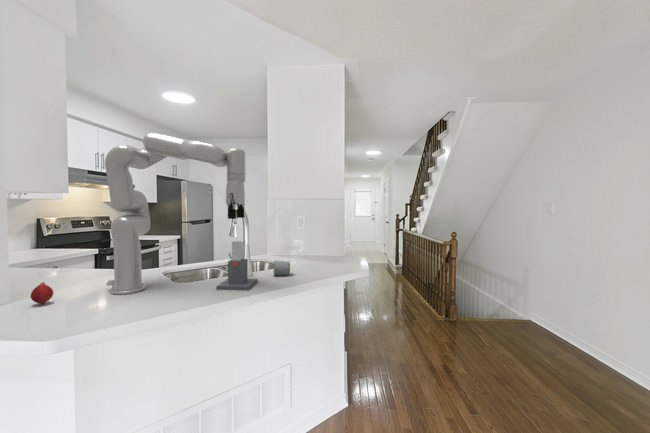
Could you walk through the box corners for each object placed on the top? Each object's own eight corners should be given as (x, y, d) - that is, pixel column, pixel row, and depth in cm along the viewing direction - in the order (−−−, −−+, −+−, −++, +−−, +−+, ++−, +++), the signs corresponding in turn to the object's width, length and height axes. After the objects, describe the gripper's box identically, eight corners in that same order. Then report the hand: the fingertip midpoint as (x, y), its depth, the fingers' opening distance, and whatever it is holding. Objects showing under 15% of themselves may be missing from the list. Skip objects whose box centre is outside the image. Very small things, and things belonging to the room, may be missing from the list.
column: (231, 282, 131) (231, 242, 130) (235, 280, 135) (234, 241, 135) (241, 282, 131) (240, 242, 130) (244, 280, 135) (244, 241, 134)
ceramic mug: (290, 276, 151) (290, 261, 150) (274, 277, 149) (274, 262, 149) (288, 272, 161) (288, 258, 161) (272, 273, 159) (272, 258, 159)
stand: (216, 289, 127) (216, 262, 126) (228, 281, 141) (228, 257, 140) (248, 290, 126) (248, 263, 125) (257, 281, 140) (257, 257, 139)
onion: (34, 308, 103) (33, 285, 102) (28, 305, 106) (28, 282, 105) (55, 303, 107) (55, 281, 107) (50, 300, 111) (49, 279, 110)
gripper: (235, 179, 136) (235, 217, 136) (218, 176, 119) (219, 219, 119) (251, 179, 135) (251, 217, 136) (236, 176, 118) (237, 219, 119)
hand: (236, 218), depth 128 cm, fingers open, 9 cm apart
